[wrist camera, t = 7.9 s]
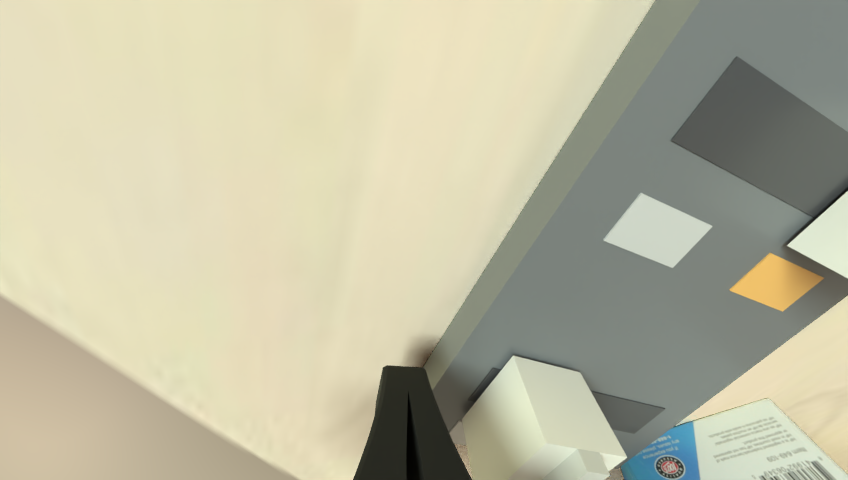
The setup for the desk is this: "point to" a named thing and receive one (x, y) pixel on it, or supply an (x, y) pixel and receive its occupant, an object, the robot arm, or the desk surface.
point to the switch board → (671, 219)
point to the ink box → (735, 449)
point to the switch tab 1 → (539, 427)
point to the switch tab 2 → (827, 238)
